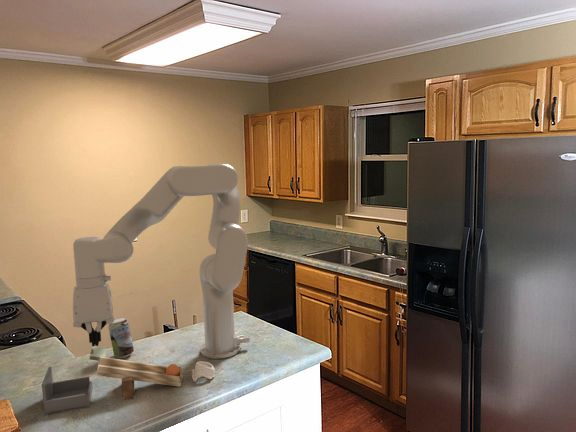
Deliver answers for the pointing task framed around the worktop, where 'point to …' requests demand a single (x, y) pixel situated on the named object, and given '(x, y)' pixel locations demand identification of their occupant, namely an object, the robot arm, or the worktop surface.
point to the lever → (133, 369)
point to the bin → (65, 394)
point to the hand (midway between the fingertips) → (95, 344)
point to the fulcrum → (127, 388)
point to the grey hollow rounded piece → (203, 370)
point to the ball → (172, 370)
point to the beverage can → (121, 338)
